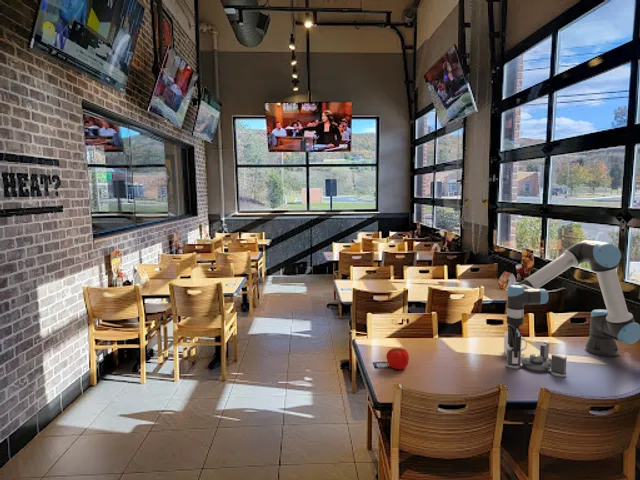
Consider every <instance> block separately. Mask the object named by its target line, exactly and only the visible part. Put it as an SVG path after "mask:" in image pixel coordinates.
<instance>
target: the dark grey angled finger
mask: <svg viewBox="0 0 640 480" xmlns="http://www.w3.org/2000/svg"><path fill="white" fill-rule="evenodd" d="M512 350H513V349H512V348H511V347H507V354H506V362H507V364H512ZM521 355H522V351H521V350H520V351H518V364H519V365H520V363H521Z"/></svg>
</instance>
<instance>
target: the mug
mask: <svg viewBox="0 0 640 480" xmlns="http://www.w3.org/2000/svg"><path fill="white" fill-rule="evenodd" d="M503 335H504V337H503V339H504V341H503V352H504V354H505V355H507V347H509V344H508V331H507V332H505V333H504V334H503ZM522 341H524V342H525V346H524V347H521V348H520V350H521V352H523V351H525V350H526V349H527V346H528V342H527V339H526V338H525V337H523V336H521V345H522Z"/></svg>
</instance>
